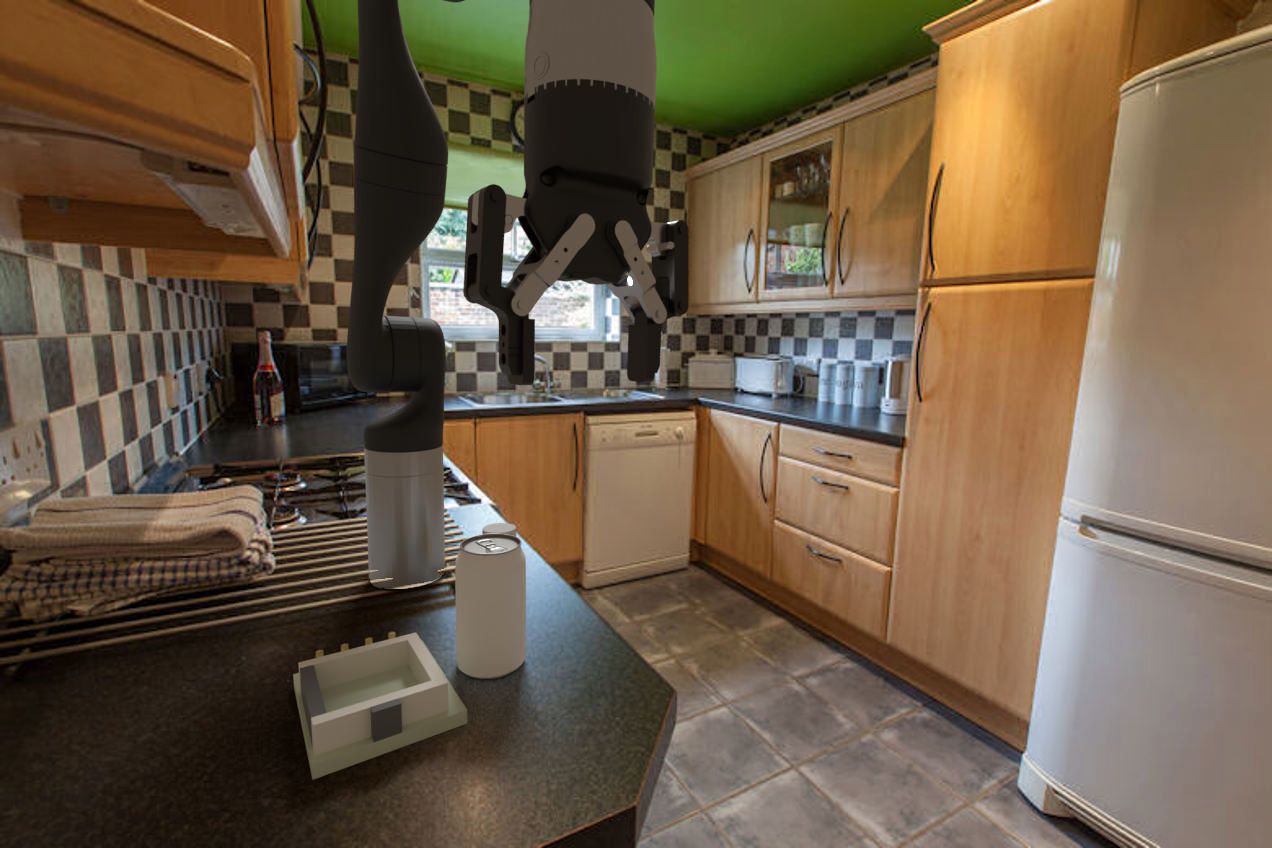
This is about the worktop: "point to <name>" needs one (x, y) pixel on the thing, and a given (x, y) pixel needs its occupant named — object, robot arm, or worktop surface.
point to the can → (490, 605)
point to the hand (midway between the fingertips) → (584, 382)
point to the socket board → (372, 701)
